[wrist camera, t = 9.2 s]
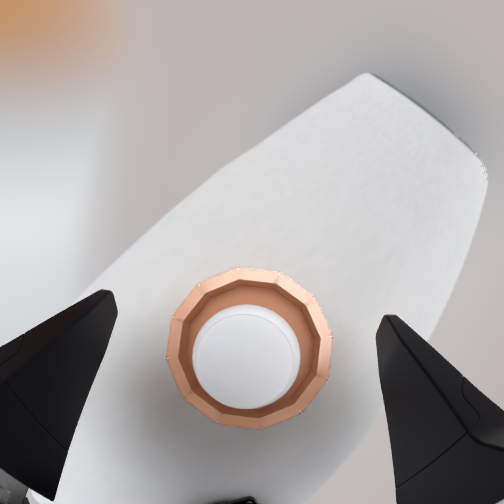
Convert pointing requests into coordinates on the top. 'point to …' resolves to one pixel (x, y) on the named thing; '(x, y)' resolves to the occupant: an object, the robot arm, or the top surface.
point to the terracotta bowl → (268, 296)
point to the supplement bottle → (246, 356)
